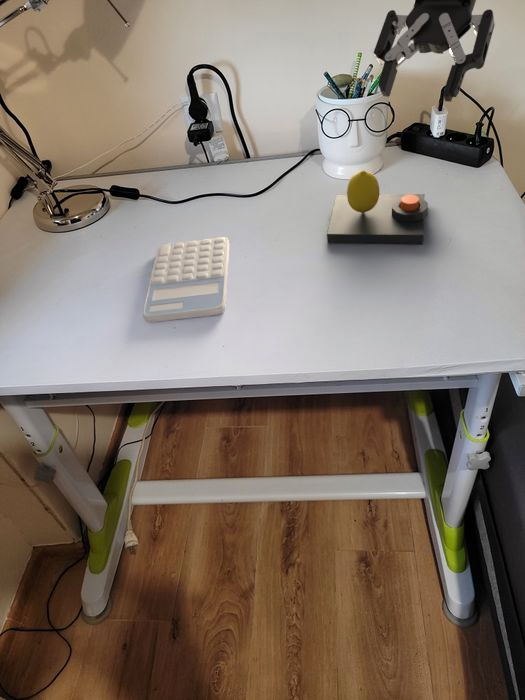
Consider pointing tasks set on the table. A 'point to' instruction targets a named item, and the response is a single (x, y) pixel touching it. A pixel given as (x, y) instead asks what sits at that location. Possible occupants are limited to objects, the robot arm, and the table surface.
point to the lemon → (363, 191)
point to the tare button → (410, 202)
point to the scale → (377, 222)
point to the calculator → (188, 280)
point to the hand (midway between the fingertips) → (414, 96)
